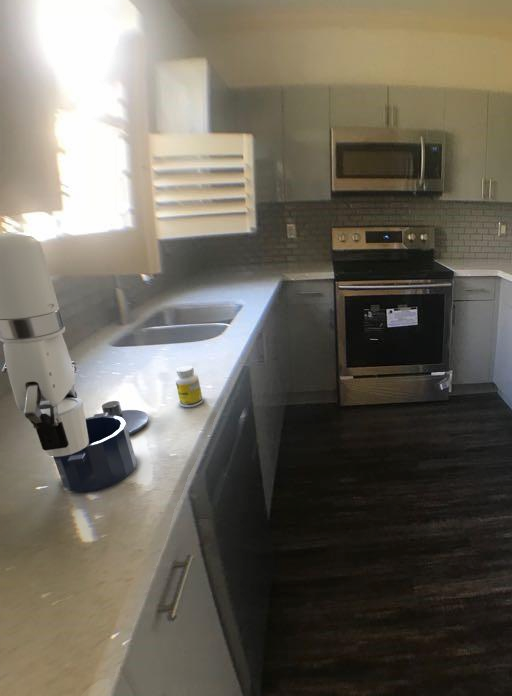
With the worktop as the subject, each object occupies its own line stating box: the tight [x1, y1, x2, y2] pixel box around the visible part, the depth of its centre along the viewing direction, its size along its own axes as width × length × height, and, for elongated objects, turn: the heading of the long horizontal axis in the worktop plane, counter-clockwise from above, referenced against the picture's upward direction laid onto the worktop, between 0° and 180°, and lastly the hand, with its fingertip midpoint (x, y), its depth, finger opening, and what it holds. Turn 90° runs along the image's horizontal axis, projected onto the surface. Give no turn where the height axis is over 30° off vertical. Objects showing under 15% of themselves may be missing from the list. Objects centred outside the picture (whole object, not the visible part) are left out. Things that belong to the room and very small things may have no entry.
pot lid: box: [101, 400, 149, 436], centre depth 106 cm, size 14×14×6 cm
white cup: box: [34, 397, 89, 457], centre depth 70 cm, size 7×7×7 cm
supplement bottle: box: [175, 365, 204, 408], centre depth 117 cm, size 5×5×10 cm
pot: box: [52, 412, 137, 494], centre depth 89 cm, size 13×18×10 cm
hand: (64, 434), depth 71 cm, fingers closed on white cup, 6 cm apart
